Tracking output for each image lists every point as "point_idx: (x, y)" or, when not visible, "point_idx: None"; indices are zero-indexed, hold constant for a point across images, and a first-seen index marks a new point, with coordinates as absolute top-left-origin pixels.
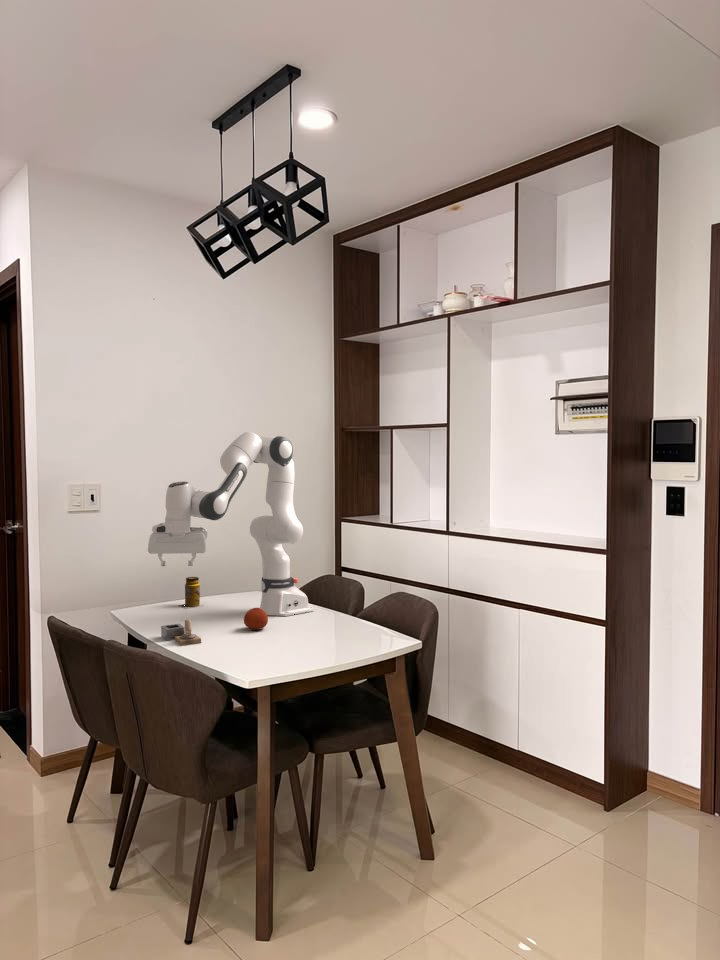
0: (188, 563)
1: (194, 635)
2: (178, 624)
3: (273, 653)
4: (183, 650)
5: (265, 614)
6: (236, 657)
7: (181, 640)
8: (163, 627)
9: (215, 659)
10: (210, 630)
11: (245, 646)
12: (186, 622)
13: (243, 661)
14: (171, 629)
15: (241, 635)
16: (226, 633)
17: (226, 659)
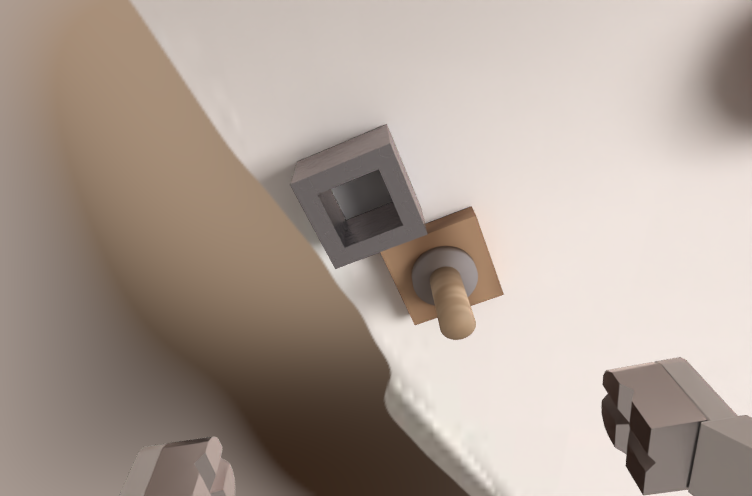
0: (625, 405)
1: (476, 284)
2: (388, 166)
3: None
4: (426, 368)
5: None
6: (606, 446)
7: (415, 313)
8: (311, 224)
9: (536, 458)
10: (565, 44)
11: (671, 341)
12: (449, 334)
13: (619, 477)
14: (361, 257)
15: (707, 175)
16: (642, 126)
17: (571, 460)
